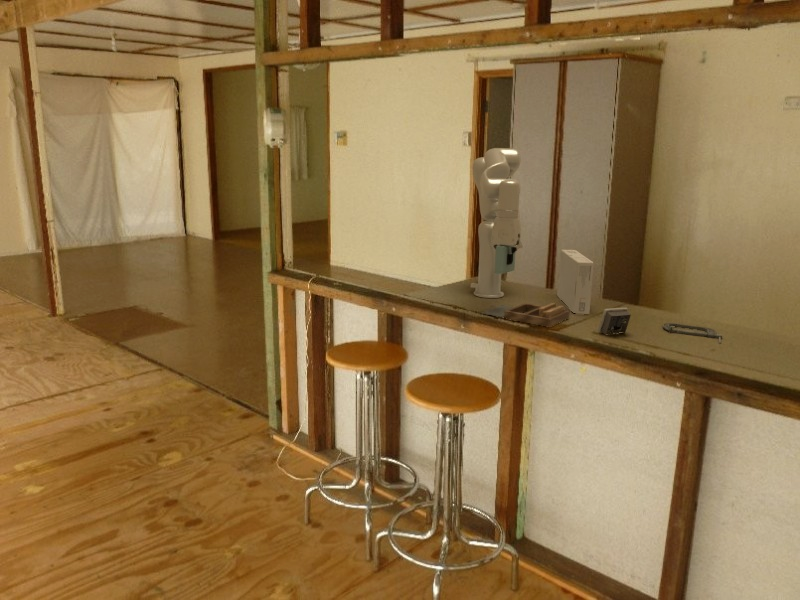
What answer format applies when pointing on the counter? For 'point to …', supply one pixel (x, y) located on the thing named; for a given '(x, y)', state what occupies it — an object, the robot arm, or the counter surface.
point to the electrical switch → (614, 320)
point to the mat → (497, 311)
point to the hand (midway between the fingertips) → (505, 263)
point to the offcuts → (550, 310)
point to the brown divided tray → (533, 315)
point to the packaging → (575, 281)
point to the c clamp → (709, 332)
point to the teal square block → (503, 260)
